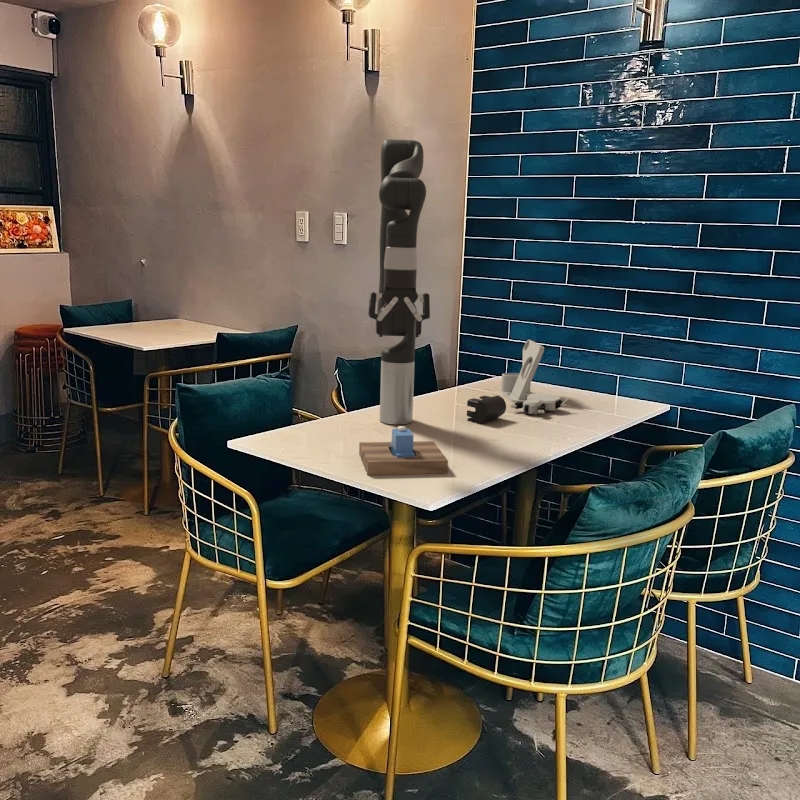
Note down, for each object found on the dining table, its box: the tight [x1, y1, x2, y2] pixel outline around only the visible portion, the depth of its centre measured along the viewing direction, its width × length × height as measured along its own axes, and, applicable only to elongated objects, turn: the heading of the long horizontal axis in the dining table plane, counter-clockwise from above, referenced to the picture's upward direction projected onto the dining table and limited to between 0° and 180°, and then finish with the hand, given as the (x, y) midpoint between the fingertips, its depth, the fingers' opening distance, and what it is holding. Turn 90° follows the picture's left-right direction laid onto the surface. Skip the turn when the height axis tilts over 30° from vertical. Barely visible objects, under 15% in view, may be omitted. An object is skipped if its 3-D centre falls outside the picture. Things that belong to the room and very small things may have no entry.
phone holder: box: [499, 339, 545, 403], centre depth 259 cm, size 17×10×18 cm, turn 6°
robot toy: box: [510, 392, 568, 416], centre depth 240 cm, size 12×4×15 cm
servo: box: [390, 425, 415, 457], centre depth 184 cm, size 10×4×8 cm, turn 9°
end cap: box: [466, 395, 507, 424], centre depth 227 cm, size 10×7×7 cm
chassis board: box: [358, 440, 449, 476], centre depth 184 cm, size 16×18×3 cm
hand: (398, 336), depth 188 cm, fingers open, 8 cm apart
